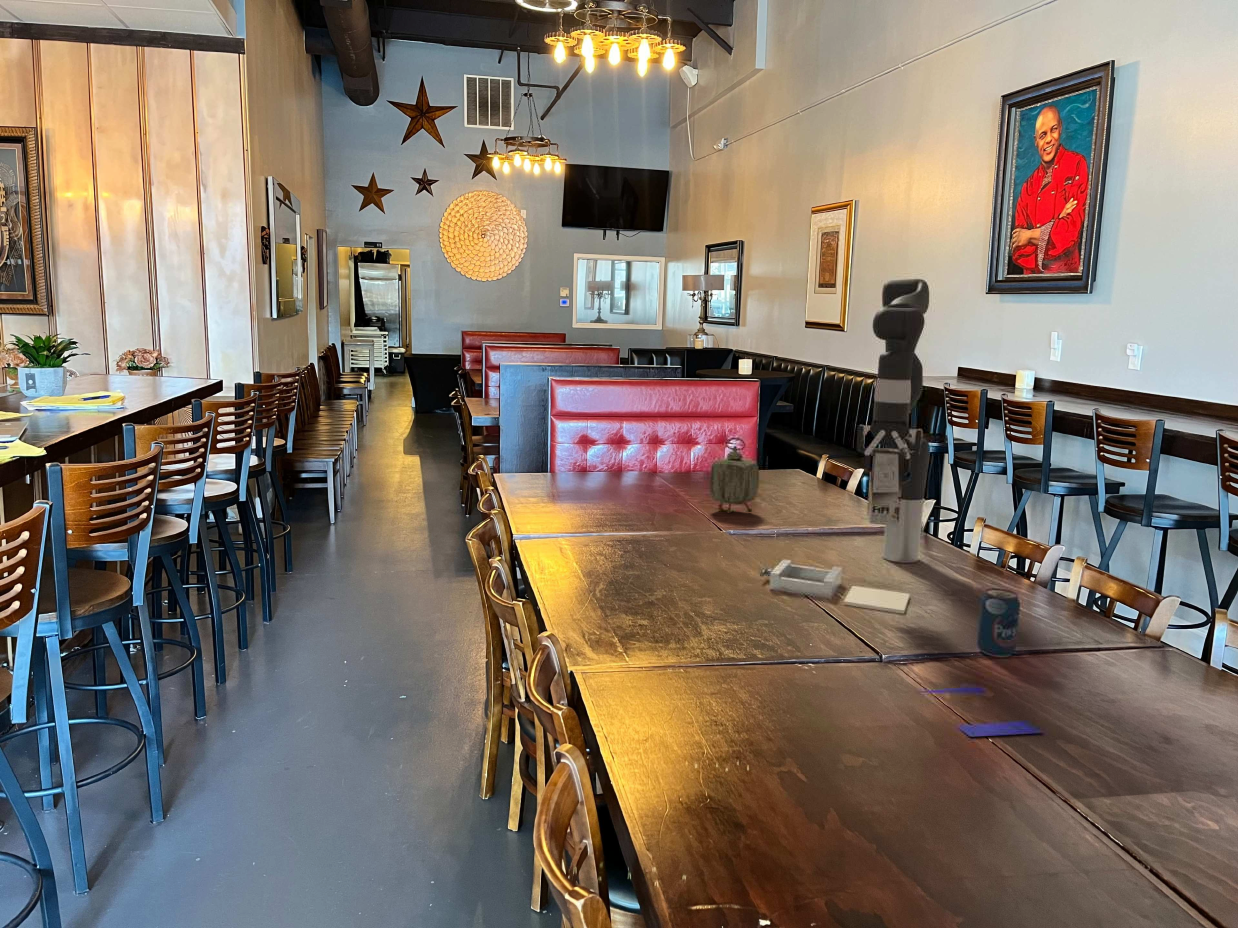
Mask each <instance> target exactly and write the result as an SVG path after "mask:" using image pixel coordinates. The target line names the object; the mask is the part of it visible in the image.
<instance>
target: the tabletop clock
mask: <svg viewBox="0 0 1238 928" xmlns="http://www.w3.org/2000/svg"><path fill="white" fill-rule="evenodd" d="M731 440H737V441H740V442H741V443H742V444H743V446H742V447H741V448H740V447H739V448H737V446H736V445H734V446H733V447H731V446H729V445H728V442H729V441H731ZM725 446H726V448H727V449H730V450H731V451H730V452H728V453H727V455H726V457H724V458H720V459H716V460H714V461H713V462H712V464H711V468H710V474H709V492H710V497H711V499H712V500H714V501H717V502H720V503H718V504H717V507H718V508H719V509H722V508H723V507H724V505H723V503H725V504H728V508H726V513H727V512H731V513H732V505H744V506H745V507H746V511H747V513H748V512H751V513H752V512H753V509H752V508H750V507H749V504H748V503H749V502H752V501H754V500H755V499H756V497H757V494H758V489H759V482H760V481H759V480H760V478H759V477H760V476H759V475H760V473H759V466H758V463H757V462H756V461H754V460H752V459H748V458H745V457H743V455H742V453H741V452H740V451H742V450H744V448H746V443H745V441H744V440H743V439H742V438H739V437H729V438H728V439H726V441H725Z"/></svg>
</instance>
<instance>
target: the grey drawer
mask: <svg viewBox="0 0 1238 928" xmlns="http://www.w3.org/2000/svg"><path fill="white" fill-rule="evenodd" d="M842 569H843V568H842V567H841V566H833V567H832V568H831V569H825V568H819V567H812V566H806V565H797V564H792V560H791V559H782V560H781V561H780V562H779V564H777V565H776V566H775V567H774V568H773V569H770V568H769V567H765V568H764V569H763V570H762V571H761V572H759V577H765V576H767V577H769V589H768V590H771V589H774V590H773V591H778V590H780V591H779V592H784V591H786V592H785V593H792V594H797V595H803V596H804V595H805V596H811V597H818V598H824V599H832V598H833V596H834V595H835V593H836V591H837V590H838V588H839V587H840V585H841V583H842Z"/></svg>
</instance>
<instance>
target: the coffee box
mask: <svg viewBox="0 0 1238 928" xmlns="http://www.w3.org/2000/svg"><path fill="white" fill-rule="evenodd" d="M871 455H872V463H871V472H869V481H868V485H869V486H868V495H867V496H868V499H867V512H866V516H867V519H868V523H869V524H872V525H880V526H881V525H884V526H885V525H892V526H898V522H899V512H900V501H901V490H902V482H903V478H904V475H903V468H904V457H905V454H904V453H902V451H901V450H900V449H892V448H885V447H884V448H878V447H875V449H874V450H873V451H872V452H871Z"/></svg>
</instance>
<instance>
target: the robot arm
mask: <svg viewBox="0 0 1238 928" xmlns="http://www.w3.org/2000/svg"><path fill="white" fill-rule="evenodd" d="M881 295H882V296H881V301H882V307H880V308H879V309H878V310H877V312H876V313H875V315H874V317H873V319H872V331H873V334H874V335H875V337H876V338H877V339H880V340H882V341H885V342H884V343H885V344H884V345H885V346H884V347H885V351H884V352H883V353H881V354H880V355H879V358H878V367H877V379H876V385H875V388H874V389H875V390H874V394H873V395H874V397H873V398H874V403H873V412H872V413H873V414H872V416H873V417H872V422H871V425H864V424H859V425H858V426H857V432H856V451H857V452H858V453H861V454H863V455H864V459H863V461H864V463H863V468H864V470H866V473H870V472H871V463H872V451H873V450H874V449H875V448H877V446H878V445H880V446H884V448H892V449H900V450H901V451H902V453H904V454H905V457H904V468H903V476H906V475H907V474H909V473H910V475H909V478H908V479H907V480H906V479H905V480H904V481H902V490H901V501H900V512H899V522H898V526H892V525H884V535H883V537H884V538H883V548H882V558H883V559H885V560H887V561H891V562H895V563H906V564H910V563H911V564H912V563H917V562H918V560H919V552H920V544H921V543H920V541H921V532H922V531H921V530H922V523H923V521H922V520H923V509H924V501H925V500H924V499H925V492H926V488H927V487H926V485H927V478H928V469H929V465H930V464H929V463H930V457H931V446H930V443H929V441H928V440H927V439H923V433H924V432H923V429H922V428H918V429H915V428H910V426H909V421H910V420H909V419H910V411H912V409H913V407H914V406H915V405H916V403H917V402H918V400H919V399H920V398H921V396H922V393H923V390H924V389H923V386H924V373H923V371H924V370H923V364H922V362H921V360H920V359H919V357H918V355H917V354H916V352H915V351H916V349H917V346H918V343H919V341H920V338H921V336H922V334H923V330H924V328H925V320H926V319H925V316H924V315H925V314H926V313H927V311H928V309H929V307H930V306H929V304H930V288H929V285H928V282H927V281H926V280H924V279H921V278H912V279H911V278H908V279H907V278H906V279H894V280H893V279H892V280H888V281H886V282H884V284H883V286H882V293H881ZM869 431H870V433H871V435H872V436H873V438H874V439H873V440H872V442H871V443H870V444H869V445H868V447H865V436H866V435H867V434H868V432H869ZM909 434H911V437H907V436H909Z"/></svg>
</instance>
